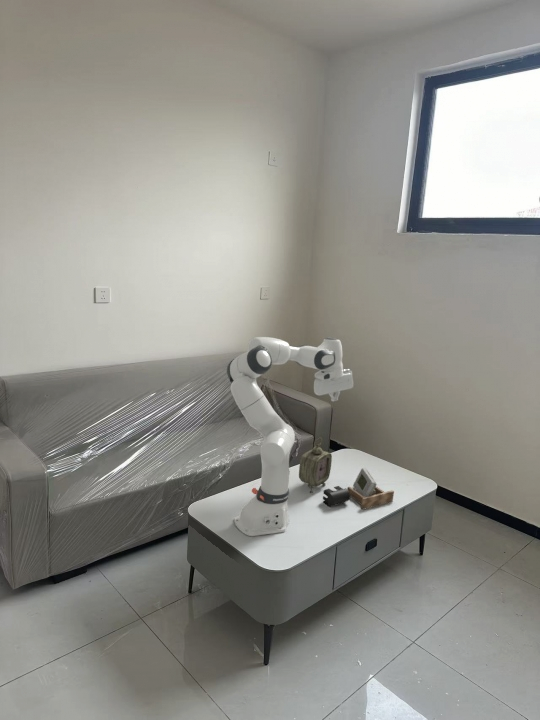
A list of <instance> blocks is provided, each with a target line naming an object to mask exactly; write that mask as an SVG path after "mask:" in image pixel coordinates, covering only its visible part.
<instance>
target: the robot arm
mask: <svg viewBox="0 0 540 720" xmlns="http://www.w3.org/2000/svg"><path fill="white" fill-rule="evenodd" d="M288 361H292V362H295V363H296V364H297V365H299V366H300V367H304V368H305V367H306V368H311V369H314V370H319V371H317V372H315V373H314V378H315V379H314V381H313V393H314V394H315V395H317V396H325V395H329V397H330V401H331V402H337V401H339V396H340V395H341V391H346V390H350V389H353V388H354V378H353V371H352V370H351V369H350V368H347V369H344V364H343V346H342V342H341V340H340V339H339V338H334V337H325V338H323V341H322V343H321V344H320V345H318V346H317V347H316V346H311V345H308V344H301V345H299V346H290V344H289V342H287V341H285V340H283V339H280V338H276V337H271V336H270V337H268V336H256V337H253V338H251V340H249V342H248V344H247V351H246V352H243V353H241V354H240V355H238V356H237V357H235V358H233V359H232V360H230V361H229V363H228V364H227V366H226V375H227V377H228V379H229V382H230V383H231V384H230V393H231V395H232V397H233V399H234V401H235V404H236V405H237V407H238V409H239V410H240V412H241V413H242V415H243V417H244V418H245V420H246V421H247V423H248V425H249V426H250V427H251V428H252V429H255V430H256V431H257V432H258V433H259V434H261V436H262V437H263V440H262V442H261V446H260V452H259V453H260V458H261V459H260V460H261V461H260V462H261V479H260V486H259V488H258V489H257V488H256V487H253V488H252V489H251V493H253V494H254V495H255V496H254V497H253V498H251V500H249V501H248V502H247V503H245V504H244V505H243V506H242V508H241V511H240V514H238V515H236V516H235V517H234V519H233V522H234V524H235V526H236V527H237V529H238V530H239V531H240V532H241V533H243V534H245V536H249V537H254V536H255V537H256V536H261V535H269V534H270V535H272V534H278V533H284V532H286V530H287V526H288V525H289V523H290V518H289V512H288V510H289V509H288V500H289V497H290V489H289V483H290V474H291V473H290V472H291V471H290V455H291V451H292V449H293V446H294V444H295V439H296V438H295V437H296V436H295V431H294V429H293V427H292V426H291V425H290V424H288V423H286V421H284V419H282V417H280V415H278V413H277V412H276V411H275V409H274V408H273V406H272V405H271V403H270V402H269V400H268V399H267V397H266V396H265V394H264V392H263V391H262V390H261V388H260V387H259V385H258V383H257V378H259V377H261V376H262V375H265V374H266V373H267V372H268V371H269V370H270V369H271V368H272V365H278V366H279V365H284V364H286V363H287V362H288ZM334 393H335V394H334Z"/></svg>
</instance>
